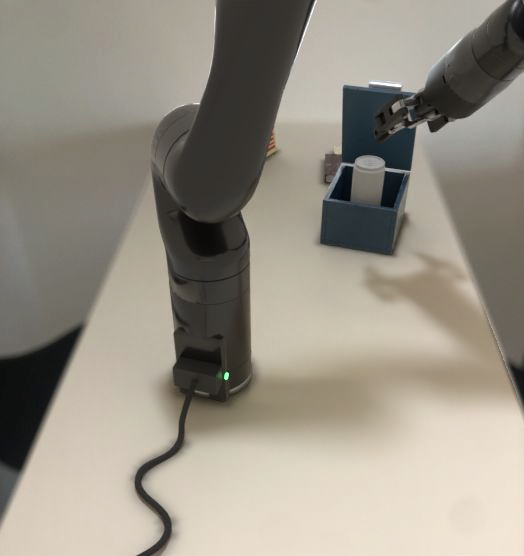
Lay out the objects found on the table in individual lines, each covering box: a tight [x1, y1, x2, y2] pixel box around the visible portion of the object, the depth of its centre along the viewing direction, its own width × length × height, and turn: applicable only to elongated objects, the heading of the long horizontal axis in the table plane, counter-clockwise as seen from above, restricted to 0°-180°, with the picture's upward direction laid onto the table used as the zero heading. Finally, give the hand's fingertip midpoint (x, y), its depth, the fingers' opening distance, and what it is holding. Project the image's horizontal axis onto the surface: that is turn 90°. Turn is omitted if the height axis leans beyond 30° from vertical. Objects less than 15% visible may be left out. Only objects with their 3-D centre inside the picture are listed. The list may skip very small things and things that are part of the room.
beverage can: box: [350, 156, 386, 206], centre depth 107 cm, size 5×5×12 cm
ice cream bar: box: [323, 145, 354, 184], centre depth 130 cm, size 5×2×15 cm
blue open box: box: [319, 163, 411, 256], centre depth 111 cm, size 14×12×8 cm
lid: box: [341, 79, 418, 172], centre depth 108 cm, size 14×12×5 cm
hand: (404, 131), depth 93 cm, fingers open, 8 cm apart
